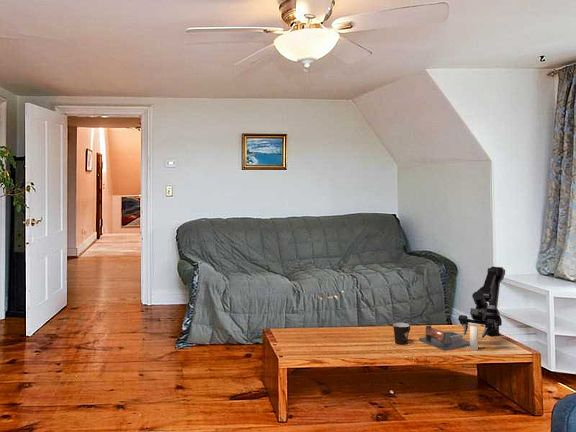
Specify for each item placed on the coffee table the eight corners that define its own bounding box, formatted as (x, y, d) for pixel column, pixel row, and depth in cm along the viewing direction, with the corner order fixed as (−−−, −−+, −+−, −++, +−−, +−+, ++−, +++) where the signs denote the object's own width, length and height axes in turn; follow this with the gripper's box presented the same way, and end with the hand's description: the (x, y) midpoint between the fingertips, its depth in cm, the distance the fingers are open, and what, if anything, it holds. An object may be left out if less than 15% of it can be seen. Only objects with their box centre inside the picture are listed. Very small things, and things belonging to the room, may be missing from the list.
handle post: (471, 347, 273) (471, 325, 272) (478, 349, 271) (479, 326, 270) (468, 349, 270) (468, 326, 269) (476, 350, 267) (476, 327, 267)
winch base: (446, 336, 295) (446, 321, 294) (473, 345, 277) (473, 329, 276) (418, 340, 286) (419, 325, 285) (444, 350, 268) (445, 334, 267)
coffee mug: (397, 346, 276) (397, 327, 276) (390, 341, 284) (390, 323, 284) (417, 344, 279) (417, 326, 279) (409, 339, 287) (409, 322, 287)
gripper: (459, 299, 278) (451, 324, 270) (495, 304, 267) (488, 330, 259) (464, 311, 285) (457, 336, 277) (499, 316, 274) (493, 342, 265)
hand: (473, 335), depth 269 cm, fingers open, 9 cm apart
